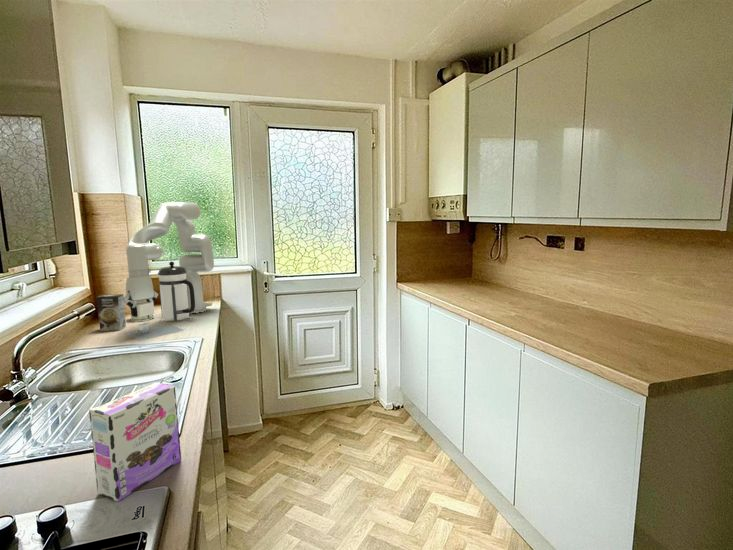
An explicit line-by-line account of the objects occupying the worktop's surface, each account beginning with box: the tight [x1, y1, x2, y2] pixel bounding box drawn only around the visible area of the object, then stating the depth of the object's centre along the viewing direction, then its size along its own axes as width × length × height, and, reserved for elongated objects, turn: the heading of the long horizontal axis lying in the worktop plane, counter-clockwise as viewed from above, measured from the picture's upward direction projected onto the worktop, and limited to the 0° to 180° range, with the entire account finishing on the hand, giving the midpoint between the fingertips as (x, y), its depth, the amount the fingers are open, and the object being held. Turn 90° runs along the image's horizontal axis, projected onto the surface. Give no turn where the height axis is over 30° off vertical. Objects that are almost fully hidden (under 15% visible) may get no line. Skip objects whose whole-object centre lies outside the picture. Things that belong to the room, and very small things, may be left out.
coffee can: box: [128, 299, 154, 322], centre depth 205 cm, size 10×10×14 cm
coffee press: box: [157, 261, 195, 322], centre depth 198 cm, size 17×16×30 cm
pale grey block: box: [138, 322, 150, 334], centre depth 175 cm, size 3×2×4 cm, turn 153°
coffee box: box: [96, 293, 127, 332], centre depth 187 cm, size 9×6×16 cm
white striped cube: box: [129, 302, 155, 317], centre depth 173 cm, size 6×6×5 cm
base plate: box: [125, 324, 186, 341], centre depth 176 cm, size 19×16×2 cm
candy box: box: [88, 381, 182, 502], centre depth 77 cm, size 14×6×16 cm, turn 155°
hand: (142, 314), depth 174 cm, fingers closed on white striped cube, 6 cm apart
